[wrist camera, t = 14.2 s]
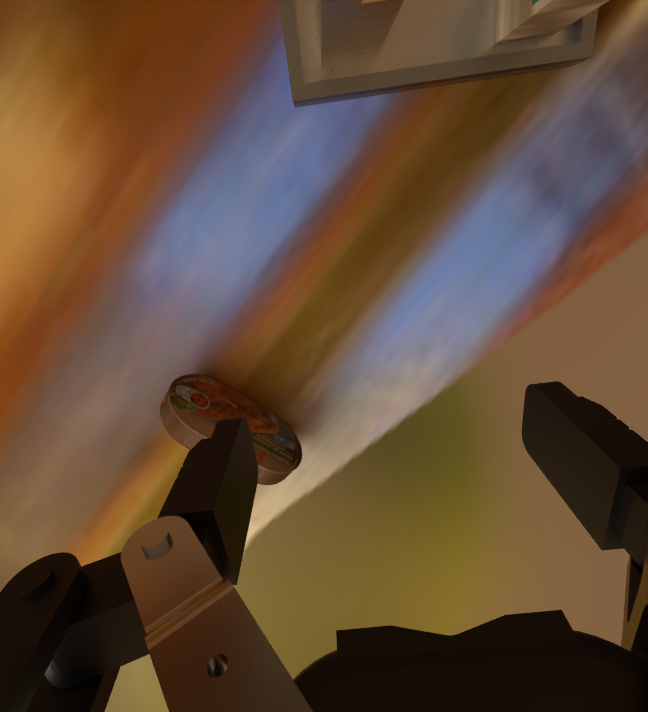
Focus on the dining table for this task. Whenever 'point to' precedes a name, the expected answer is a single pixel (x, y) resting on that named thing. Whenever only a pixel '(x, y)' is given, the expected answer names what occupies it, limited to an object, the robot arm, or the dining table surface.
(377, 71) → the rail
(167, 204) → the dining table surface
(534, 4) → the maple finger
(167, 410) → the tin
